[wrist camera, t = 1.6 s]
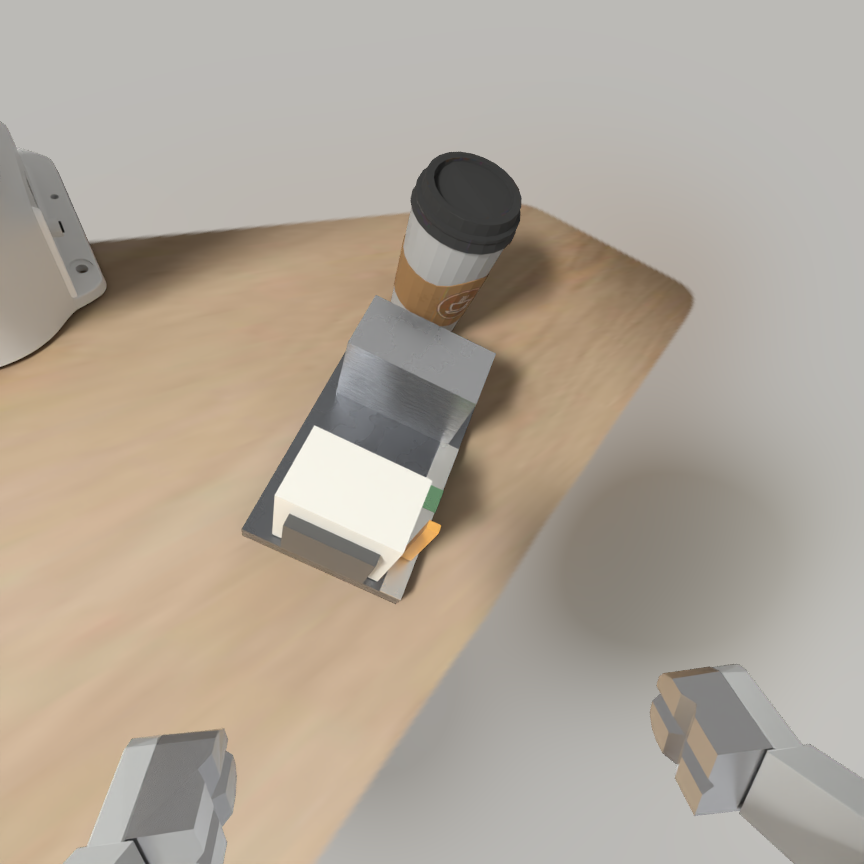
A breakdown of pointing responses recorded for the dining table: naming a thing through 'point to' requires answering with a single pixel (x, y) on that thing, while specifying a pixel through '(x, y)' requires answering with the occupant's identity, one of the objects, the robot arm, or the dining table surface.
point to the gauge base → (357, 435)
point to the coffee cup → (454, 235)
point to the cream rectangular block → (350, 508)
